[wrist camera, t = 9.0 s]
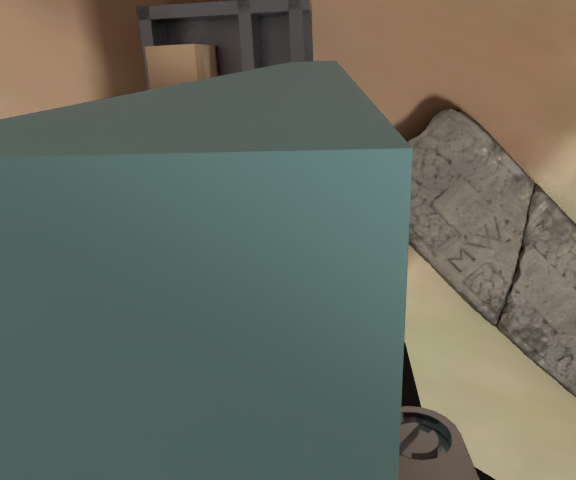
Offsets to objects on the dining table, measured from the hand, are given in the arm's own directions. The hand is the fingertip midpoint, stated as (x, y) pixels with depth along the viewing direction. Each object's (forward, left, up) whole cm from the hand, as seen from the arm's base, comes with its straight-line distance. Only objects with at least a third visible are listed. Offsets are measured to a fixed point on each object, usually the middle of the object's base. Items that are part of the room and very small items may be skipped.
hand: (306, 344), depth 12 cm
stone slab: (+11, +16, -31) cm, 37 cm away
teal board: (0, 0, -9) cm, 9 cm away
